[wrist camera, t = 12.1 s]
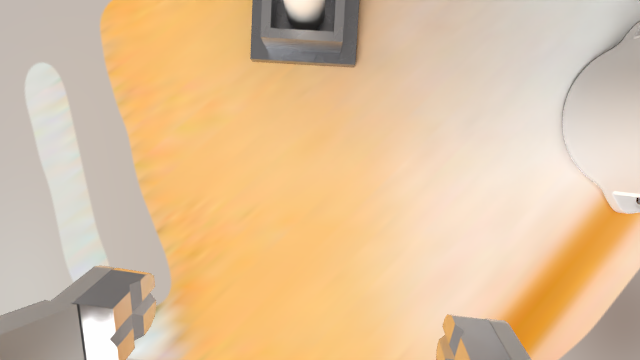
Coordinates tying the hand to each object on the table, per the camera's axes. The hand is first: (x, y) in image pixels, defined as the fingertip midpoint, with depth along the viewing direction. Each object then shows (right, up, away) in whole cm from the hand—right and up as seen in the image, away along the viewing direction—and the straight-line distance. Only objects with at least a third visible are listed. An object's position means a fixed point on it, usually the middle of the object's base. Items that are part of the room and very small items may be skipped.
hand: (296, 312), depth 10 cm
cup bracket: (-1, +20, +24) cm, 31 cm away
